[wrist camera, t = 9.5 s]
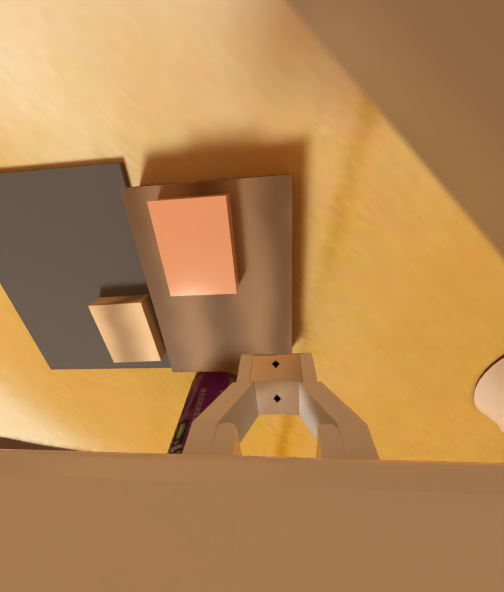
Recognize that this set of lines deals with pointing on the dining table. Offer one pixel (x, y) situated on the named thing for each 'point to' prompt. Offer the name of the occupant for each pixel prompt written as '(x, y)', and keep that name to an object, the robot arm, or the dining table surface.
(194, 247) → the tilted orange prism
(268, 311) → the walnut board
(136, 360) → the tan rectangular block
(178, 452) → the beverage can
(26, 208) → the mat
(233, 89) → the dining table surface
